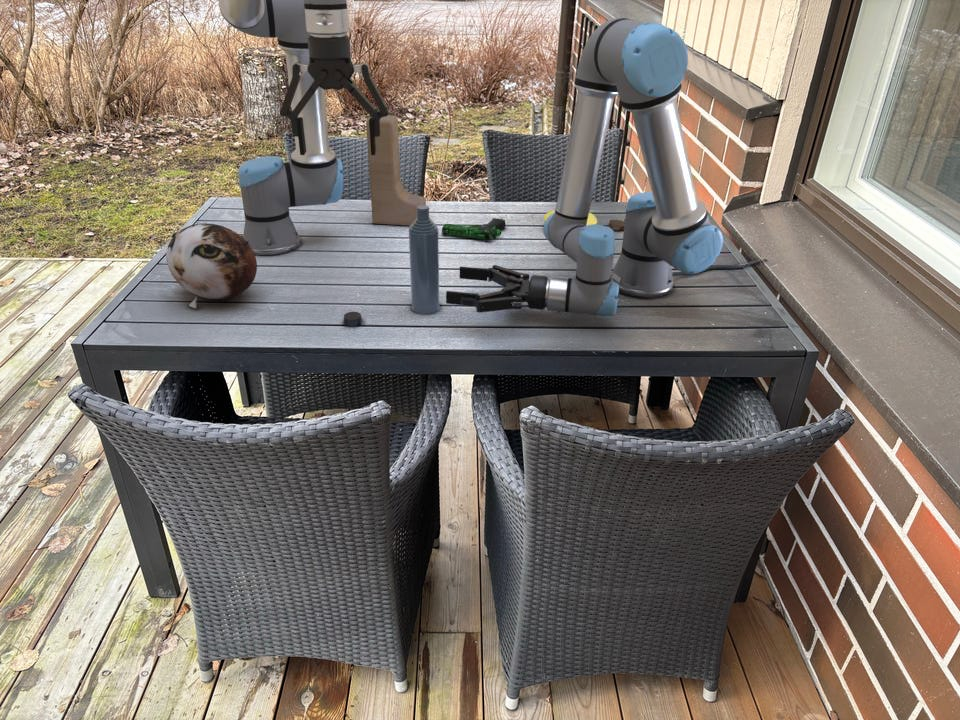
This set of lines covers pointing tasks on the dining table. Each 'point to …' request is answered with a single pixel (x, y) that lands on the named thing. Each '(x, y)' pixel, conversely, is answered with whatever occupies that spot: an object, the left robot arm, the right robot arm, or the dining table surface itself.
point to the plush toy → (211, 261)
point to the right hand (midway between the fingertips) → (453, 284)
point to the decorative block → (389, 178)
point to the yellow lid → (590, 221)
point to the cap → (352, 319)
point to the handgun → (476, 230)
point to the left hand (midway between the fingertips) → (338, 153)
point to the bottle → (424, 263)
